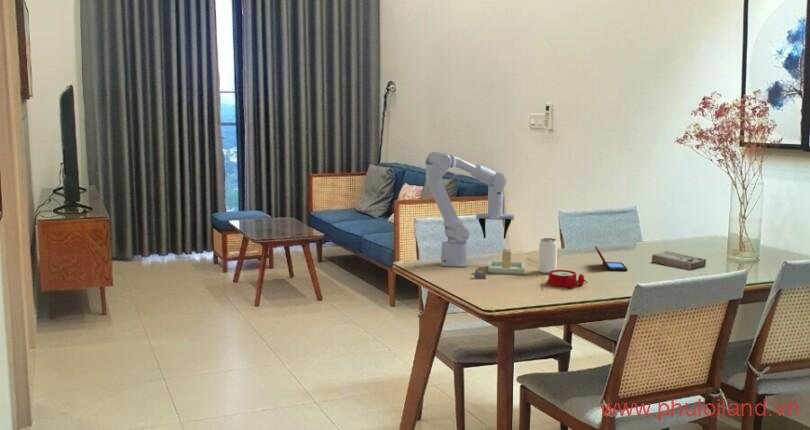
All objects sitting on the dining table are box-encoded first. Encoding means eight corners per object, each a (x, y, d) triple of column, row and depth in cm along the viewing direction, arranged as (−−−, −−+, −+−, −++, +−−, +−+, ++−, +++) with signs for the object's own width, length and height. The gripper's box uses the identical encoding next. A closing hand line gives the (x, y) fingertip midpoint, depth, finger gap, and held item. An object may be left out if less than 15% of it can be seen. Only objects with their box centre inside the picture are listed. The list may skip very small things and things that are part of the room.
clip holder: (474, 278, 275) (474, 271, 275) (475, 272, 284) (475, 266, 283) (485, 278, 275) (485, 271, 274) (486, 273, 283) (486, 266, 283)
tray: (488, 273, 283) (488, 268, 282) (489, 265, 296) (489, 260, 295) (524, 274, 281) (524, 269, 281) (523, 267, 294) (524, 262, 293)
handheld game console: (628, 272, 287) (629, 252, 286) (598, 271, 289) (599, 251, 287) (622, 265, 300) (623, 246, 299) (593, 264, 301) (594, 245, 300)
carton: (502, 270, 286) (502, 251, 285) (502, 267, 291) (502, 248, 290) (510, 270, 285) (510, 251, 284) (510, 267, 290) (511, 248, 289)
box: (666, 258, 311) (666, 250, 310) (706, 266, 297) (706, 258, 297) (650, 262, 304) (651, 254, 303) (690, 271, 291) (691, 263, 290)
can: (557, 270, 289) (558, 238, 287) (554, 274, 283) (556, 241, 281) (540, 269, 291) (541, 237, 289) (537, 272, 285) (538, 240, 283)
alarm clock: (556, 268, 276) (592, 266, 264) (559, 286, 275) (594, 284, 264) (538, 273, 269) (573, 270, 257) (541, 291, 268) (576, 289, 257)
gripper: (475, 204, 297) (475, 239, 299) (514, 205, 295) (513, 240, 297) (476, 201, 304) (476, 236, 306) (514, 202, 302) (513, 237, 304)
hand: (494, 238), depth 302 cm, fingers open, 7 cm apart
